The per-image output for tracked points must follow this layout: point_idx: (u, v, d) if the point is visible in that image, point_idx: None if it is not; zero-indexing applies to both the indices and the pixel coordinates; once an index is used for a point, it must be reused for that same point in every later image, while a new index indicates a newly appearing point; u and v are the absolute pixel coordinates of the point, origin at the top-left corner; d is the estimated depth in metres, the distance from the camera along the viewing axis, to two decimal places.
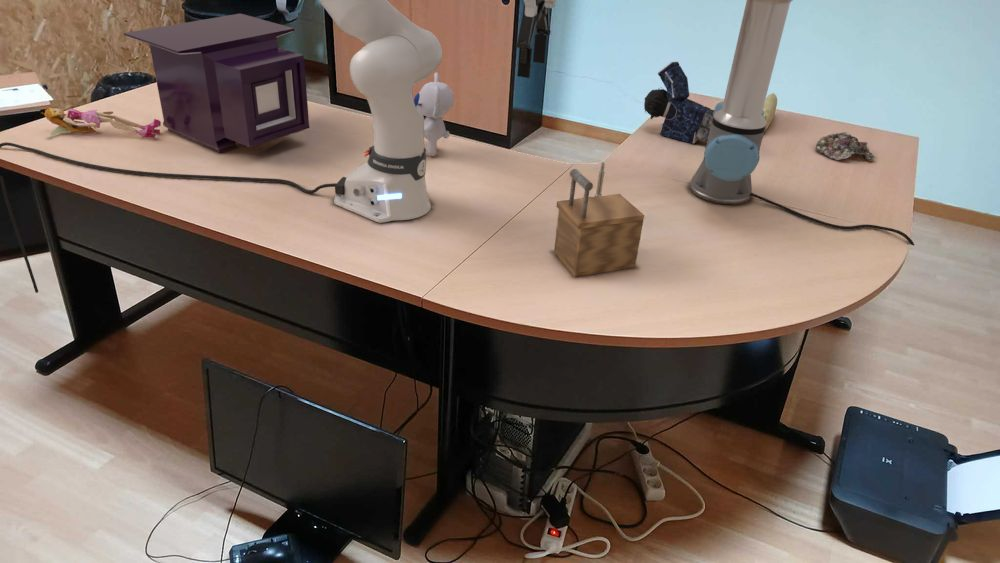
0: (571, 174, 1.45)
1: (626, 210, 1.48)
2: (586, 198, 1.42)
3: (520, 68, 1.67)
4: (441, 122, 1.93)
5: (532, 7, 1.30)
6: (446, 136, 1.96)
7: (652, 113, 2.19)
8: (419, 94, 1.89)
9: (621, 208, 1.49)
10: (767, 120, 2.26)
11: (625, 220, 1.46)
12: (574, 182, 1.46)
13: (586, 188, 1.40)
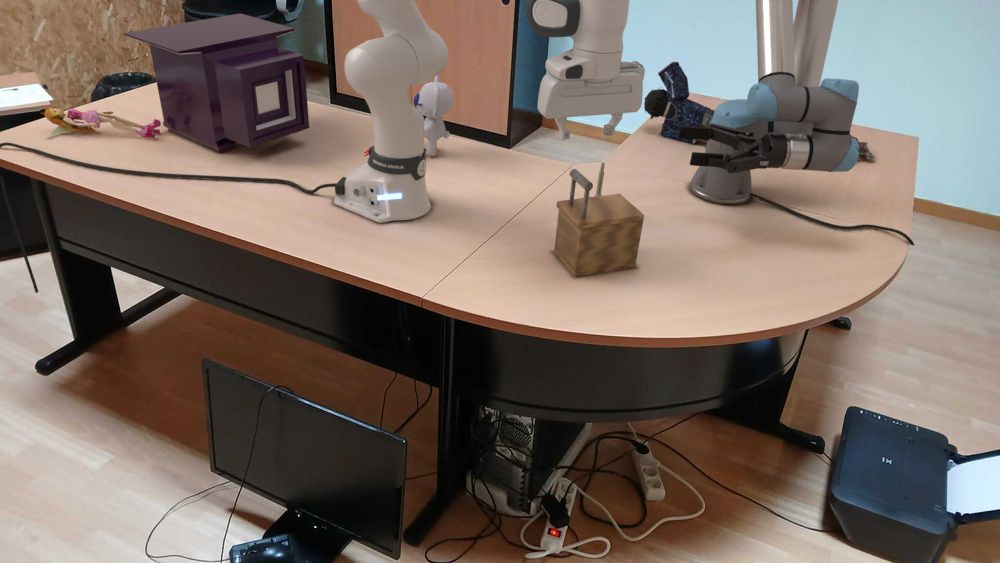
0: (571, 174, 1.45)
1: (626, 210, 1.48)
2: (586, 198, 1.42)
3: (701, 156, 1.52)
4: (441, 122, 1.93)
5: (562, 131, 1.35)
6: (446, 136, 1.96)
7: (652, 113, 2.19)
8: (419, 94, 1.89)
9: (621, 208, 1.49)
10: None
11: (625, 220, 1.46)
12: (574, 182, 1.46)
13: (586, 188, 1.40)
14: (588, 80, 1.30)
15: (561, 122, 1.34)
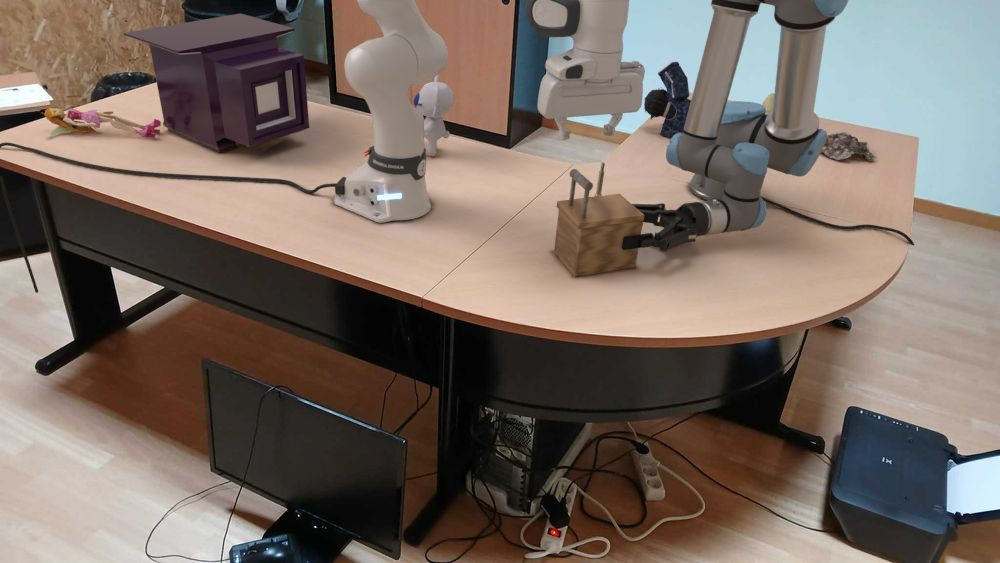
0: (571, 174, 1.45)
1: (626, 210, 1.48)
2: (586, 198, 1.42)
3: (633, 239, 1.48)
4: (441, 122, 1.93)
5: (562, 131, 1.35)
6: (446, 136, 1.96)
7: (652, 113, 2.19)
8: (419, 94, 1.89)
9: (621, 208, 1.49)
10: None
11: (625, 220, 1.46)
12: (574, 182, 1.46)
13: (586, 188, 1.40)
14: (588, 80, 1.30)
15: (561, 122, 1.34)
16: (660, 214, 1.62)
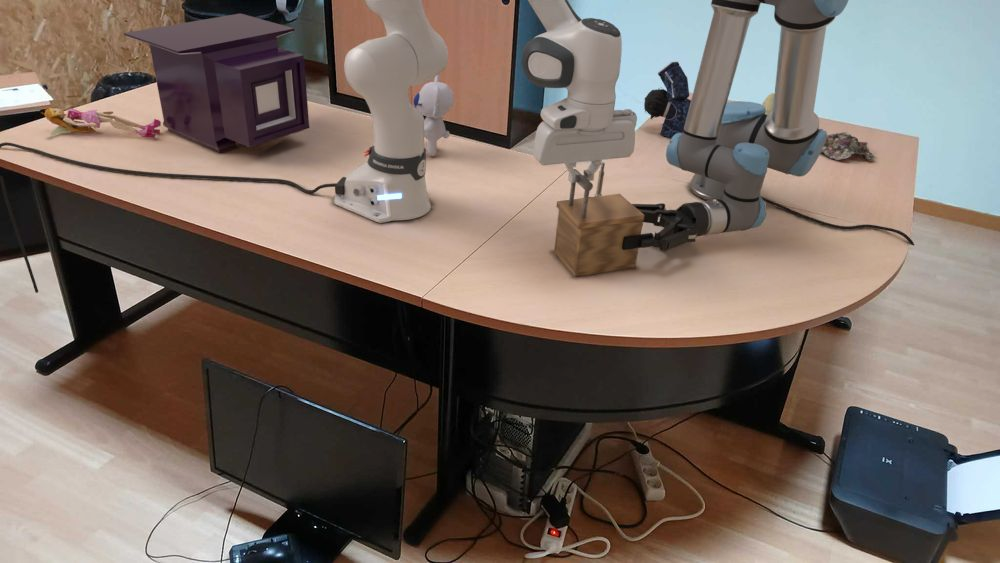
0: None
1: (626, 210, 1.48)
2: (586, 198, 1.42)
3: (633, 239, 1.48)
4: (441, 122, 1.93)
5: (571, 175, 1.41)
6: (446, 136, 1.96)
7: (652, 113, 2.19)
8: (419, 94, 1.89)
9: (621, 208, 1.49)
10: None
11: (625, 220, 1.46)
12: None
13: (586, 188, 1.40)
14: (582, 129, 1.35)
15: (571, 166, 1.39)
16: (660, 214, 1.62)
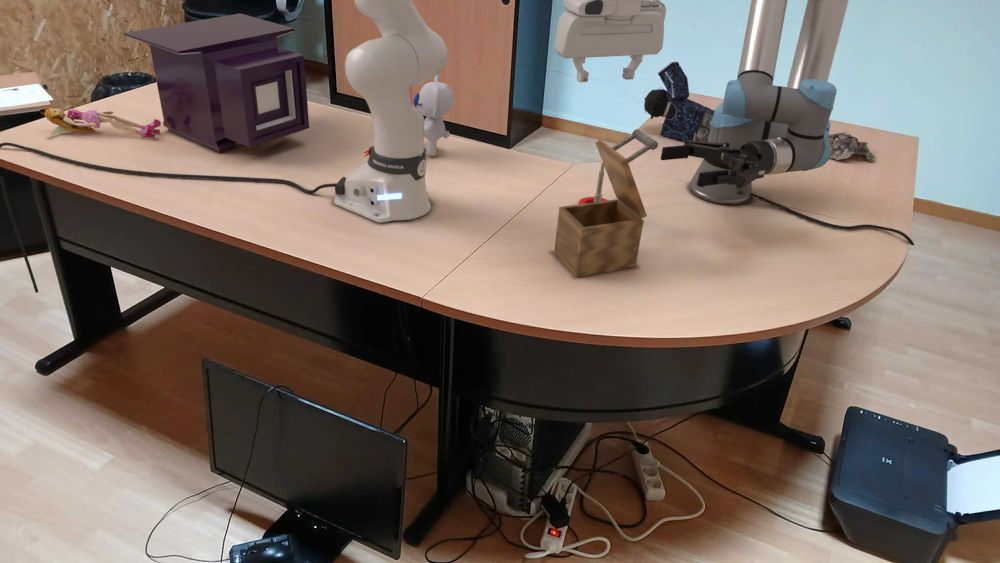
0: (637, 130, 1.45)
1: None
2: (642, 151, 1.41)
3: (709, 175, 1.45)
4: (441, 122, 1.93)
5: (580, 73, 1.30)
6: (446, 136, 1.96)
7: (652, 113, 2.19)
8: (419, 94, 1.89)
9: None
10: None
11: (638, 201, 1.45)
12: (631, 139, 1.46)
13: (652, 144, 1.41)
14: (608, 17, 1.25)
15: (579, 63, 1.29)
16: (723, 153, 1.59)
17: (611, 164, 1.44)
